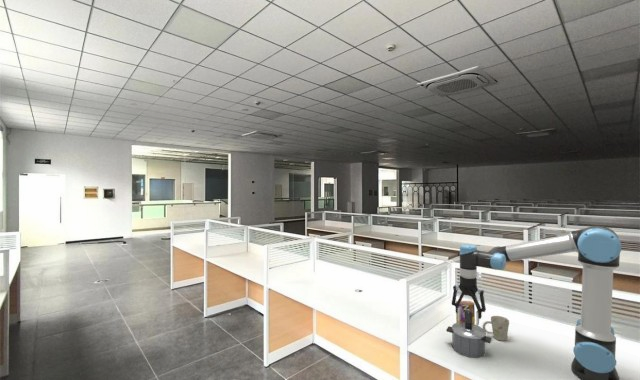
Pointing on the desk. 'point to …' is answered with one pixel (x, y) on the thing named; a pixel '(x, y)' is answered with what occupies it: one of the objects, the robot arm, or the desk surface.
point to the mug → (498, 327)
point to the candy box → (466, 306)
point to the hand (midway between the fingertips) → (468, 322)
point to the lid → (468, 328)
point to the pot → (468, 345)
